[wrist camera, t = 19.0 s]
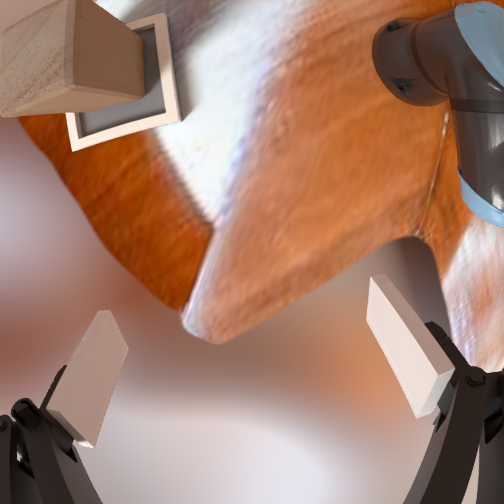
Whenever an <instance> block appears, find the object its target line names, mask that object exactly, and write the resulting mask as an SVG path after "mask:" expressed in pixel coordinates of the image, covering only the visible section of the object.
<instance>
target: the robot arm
mask: <svg viewBox="0 0 504 504" xmlns="http://www.w3.org/2000/svg"><path fill="white" fill-rule="evenodd" d="M372 55H373V61H374V65H375V68H376V70H377V73H378V75H379V77H380V78H381V80H382V82H383V83H384V84H385V86H386V87H387V88H388V89H389V90H390V91H391V92H392V93H393V94H394V95H395V96H396V97H397V98H399V99H400V100H402V101H404V102H406V103H408V104H411V105H414V106H434V105H437V104H440V103H441V102H443V101H445V100H446V99H448V98H449V99H450V104H451V110H452V116H453V123H454V130H455V137H456V146H457V156H458V166H457V170H458V175H459V177H460V186H461V195H462V198H463V200H464V202H465V203H466V205H467V207H468V208H469V209H470V210H471V211H472V212H473V213H474V214H476V215H477V216H478V217H480V218H481V219H483V220H485V221H487V222H489V223H491V224H493V225H496V226H499V227H502V228H504V9H503V8H501V7H500V6H498V5H496V4H494V3H491V2H487V1H478V2H473V3H464V4H460V5H457V6H456V7H454V8H451V9H449V10H446V11H443V12H441V13H438V14H436V15H433V16H431V17H428V18H426V19H423V20H419V19H406V18H403V19H396V20H393V21H391V22H389V23H387V24H385V25H384V26H382V27H381V28H380V29H379V30H378V32H377V33H376V35H375V37H374V40H373V45H372ZM366 320H367V323H368V324H369V326H370V328H371V330H372V331H373V333H374V335H375V337H376V339H377V340H378V343H379V344H380V346H381V348H382V350H383V352H384V354H385V356H386V358H387V359H388V361H389V363H390V365H391V367H392V369H393V371H394V373H395V375H396V377H397V379H398V381H399V383H400V385H401V387H402V389H403V391H404V393H405V395H406V397H407V399H408V401H409V403H410V405H411V407H412V409H413V411H414V414H415V416H416V418H420V417H422V416H425V415H427V414H430V413H432V412H433V411H434V409H435V407H436V405H438V406H439V408H440V410H441V411H440V413H439V414H438V416H437V418H436V419H435V421H434V423H433V425H435V428H434V431H433V434H432V437H431V439H430V443H429V445H428V448H427V451H426V453H425V456H424V459H423V461H422V463H421V466H420V468H419V471H418V473H417V475H416V478H415V480H414V482H413V485H412V486H411V489H410V491H409V493H408V495H407V497H406V499H405V501H404V503H403V504H461V503H462V500H463V497H464V495H465V492H466V489H467V486H468V483H469V480H470V476H471V473H472V470H473V466H474V462H475V459H476V455H477V451H478V446H480V448H479V454H480V455H479V478H478V491H477V500H476V504H504V368H503V369H502V371H499V372H492V373H486V372H485V371H484V370H483V369H481V368H479V367H476V366H470V365H469V364H468V362H467V361H466V359H465V358H464V357H463V355H462V354H461V353H460V351H459V350H458V349H457V347H456V346H455V345H454V343H452V341H451V339H450V338H449V337H447V334H446V333H445V332H444V330H443V329H442V328H441V327H440V326H439V325H437V324H435V323H434V322H432V321H431V322H428V323H425V324H424V323H423V322H422V321H421V320H420V319H419V317H418V316H417V314H416V313H415V312H414V310H413V309H412V308H411V306H410V305H409V304H408V303H407V301H406V300H405V299H404V297H403V296H402V295H401V294H400V292H399V291H398V290H397V289H396V287H395V286H394V285H393V284H392V283H391V281H390V280H389V279H388V278H387V276H385V274H380V275H374V276H370V288H369V299H368V309H367V318H366ZM128 350H129V348H128V346H127V344H126V342H125V340H124V338H123V336H122V334H121V332H120V330H119V328H118V326H117V324H116V322H115V319H114V317H113V315H112V313H111V310H105V311H98V313H97V314H96V316H95V318H94V319H93V321H92V323H91V325H90V326H89V328H88V330H87V331H86V333H85V335H84V336H83V338H82V340H81V342H80V344H79V345H78V347H77V349H76V351H75V352H74V354H73V356H72V358H71V360H70V362H69V363H68V365H64V366H63V368H61V369H60V370H59V372H58V373H57V375H56V377H55V378H54V382H52V384H51V386H50V387H51V388H49V390H48V392H47V394H46V396H45V398H44V400H43V402H42V404H41V406H40V408H39V409H38V408H37V407H36V405H35V404H34V403H33V402H32V401H31V400H30V399H29V398H22V399H20V400H18V401H17V402H16V403H15V404H14V405H13V407H12V409H11V415H12V417H13V418H14V419H15V420H16V422H14V421H13V420H12V419H11V418H10V417H9V416H8V415H2V416H0V504H103V503H102V502H101V500H100V498H99V497H98V494H97V492H96V490H95V489H94V487H93V485H92V483H91V481H90V479H89V477H88V474H87V473H86V470H85V468H84V466H83V464H82V462H81V459H80V457H79V454H78V452H77V450H76V448H75V446H74V445H73V444H72V443H73V440H74V439H75V440H76V441H77V442H78V443H79V444H80V445H82V446H87V447H91V448H95V445H96V442H97V438H98V435H99V432H100V428H101V426H102V422H103V419H104V416H105V413H106V410H107V407H108V404H109V402H110V399H111V396H112V393H113V390H114V387H115V385H116V382H117V379H118V376H119V374H120V371H121V368H122V366H123V363H124V361H125V358H126V355H127V353H128ZM17 455H19V456H20V462H19V461H18V460H17Z"/></svg>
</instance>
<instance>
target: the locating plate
mask: <svg viewBox="0 0 504 504" xmlns="http://www.w3.org/2000/svg"><path fill="white" fill-rule="evenodd" d="M125 25H126V26H127V27H129V28H130V29H131V30H133V31H134V32H135V33H137V34H138V35H139V36H140V37H141V38H142V40H143V56H144V82H145V94H144V97H143V98H142V99H140V100H138V101H133V102H128V103H124V104H119V105H115V106H111V107H107V108H103V109H99V110H95V111H92V112H75V113H66V118H67V124H68V130H69V136H70V142H71V147H72V152H73V151H77V150H81V149H84V148H87V147H90V146H93V145H96V144H99V143H102V142H105V141H108V140H111V139H115V138H118V137H121V136H125V135H128V134H132V133H136V132H139V131H143V130H147V129H151V128H155V127H159V126H163V125H168V124H172V123H177V122H181V121H182V115H181V109H180V102H179V96H178V89H177V82H176V75H175V68H174V61H173V53H172V45H171V37H170V29H169V20H168V17H167V15H166V14H165V13H164V12H162V13H158V14H154V15H151V16H148V17H144V18H141V19H138V20H135V21H132V22H129V23H126V24H125Z"/></svg>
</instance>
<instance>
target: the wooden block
mask: <svg viewBox="0 0 504 504" xmlns="http://www.w3.org/2000/svg"><path fill="white" fill-rule="evenodd" d="M144 94H145V82H144V56H143V40H142V38H141V37H140V36H139V35H138V34H137V33H135V32H134V31H133V30H131V29H130V28H129V27H127V26H126V25H125V24H123V23H122V22H121V21H119V20H118V19H117V18H115V17H114V16H113V15H111V14H110V13H109V12H107V11H106V10H104V9H103V8H102V7H100V6H99V5H97V4H96V3H94V2H93V1H92V0H57V1H55V2H53V3H51V4H49V5H47V6H45V7H43V8H41V9H39V10H37V11H35V12H34V13H32V14H30V15H28V16H27V17H25V18H23V19H21V20H20V21H18V22H17V23H15V24H13V25H12V26H10V27H9V28H7V29H6V30H5V31H4V32H3V34H2V36H1V41H0V116H2V117H16V116H26V115H37V114H51V113H75V112H92V111H95V110H99V109H103V108H107V107H111V106H115V105H119V104H124V103H128V102H133V101H138V100H140V99H142V98H143V97H144Z"/></svg>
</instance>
